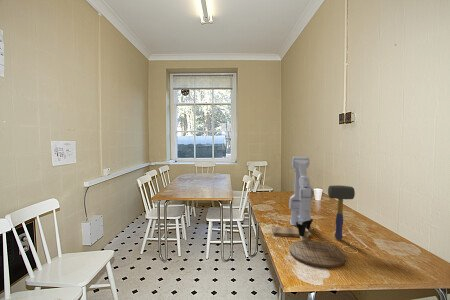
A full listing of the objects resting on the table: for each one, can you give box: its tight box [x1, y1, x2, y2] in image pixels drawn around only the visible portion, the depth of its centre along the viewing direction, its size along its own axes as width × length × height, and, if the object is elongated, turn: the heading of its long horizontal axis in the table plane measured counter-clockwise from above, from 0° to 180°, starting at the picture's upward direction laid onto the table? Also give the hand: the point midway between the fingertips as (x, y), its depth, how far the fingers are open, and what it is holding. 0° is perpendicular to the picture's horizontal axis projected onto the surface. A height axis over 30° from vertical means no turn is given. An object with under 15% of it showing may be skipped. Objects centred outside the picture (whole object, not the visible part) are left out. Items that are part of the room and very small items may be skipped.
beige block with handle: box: [299, 228, 310, 241], centre depth 138 cm, size 4×14×6 cm, turn 177°
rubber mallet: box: [327, 184, 356, 241], centre depth 136 cm, size 12×8×30 cm, turn 82°
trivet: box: [289, 239, 347, 269], centre depth 118 cm, size 25×25×2 cm
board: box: [271, 226, 313, 238], centre depth 143 cm, size 21×9×2 cm, turn 86°
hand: (304, 233), depth 135 cm, fingers open, 7 cm apart
